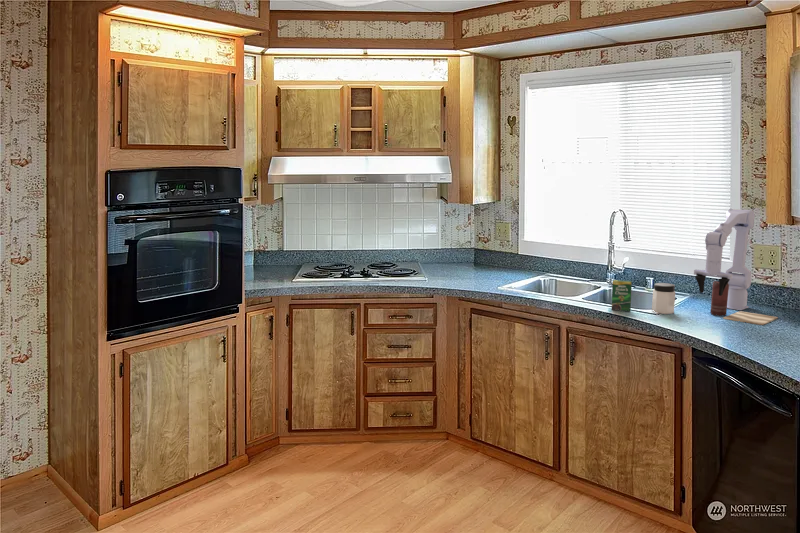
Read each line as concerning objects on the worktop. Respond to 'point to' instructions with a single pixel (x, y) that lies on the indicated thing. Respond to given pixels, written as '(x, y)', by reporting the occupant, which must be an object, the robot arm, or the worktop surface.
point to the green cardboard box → (621, 295)
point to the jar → (663, 298)
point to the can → (719, 300)
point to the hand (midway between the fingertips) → (711, 293)
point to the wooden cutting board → (750, 318)
